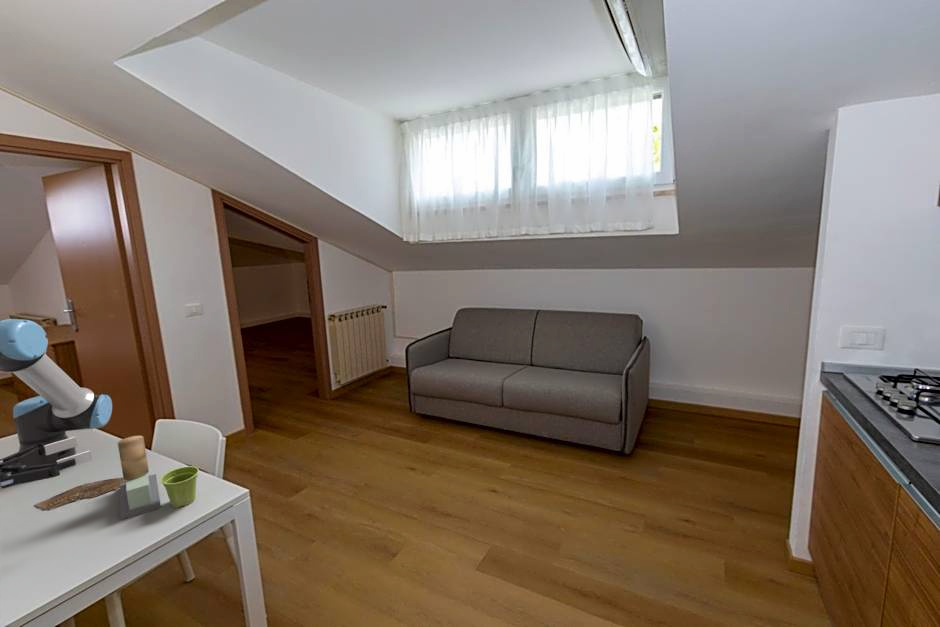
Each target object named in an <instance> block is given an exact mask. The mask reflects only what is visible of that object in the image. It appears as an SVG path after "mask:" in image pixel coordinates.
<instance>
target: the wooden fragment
mask: <svg viewBox="0 0 940 627" xmlns="http://www.w3.org/2000/svg"><path fill="white" fill-rule="evenodd" d="M122 483H126V480H125V479H124V478H123V476H122V477H118V478H117V477H115V478H109V479H108V478H107V479H103V480H98V481H93V482H87V483H84V484H81V485H80V484H79V485H78V486H75V487H73V488H71V489H68V490H66V491H64V492H61V493H58V494H56V495H53V496H51V497H49V498H47V499H44V500H42V501H40V502H37V503H34V505H33V507H35V506H36V508H37V509H38V508H42V509H41V510H43V511H51V510H53V509H52V508H54V509H56V508H57V507H61V506H64V505H67V504H70V503H75V502H76V501H79V500H78V499H80V500H83V499H90V498H94V497H98V496H100V495H103V494H106V493H108V492H112V491H116V490H117V491H118V490H119V489H121V484H122ZM46 509H48V510H46ZM50 509H51V510H50Z"/></svg>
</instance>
